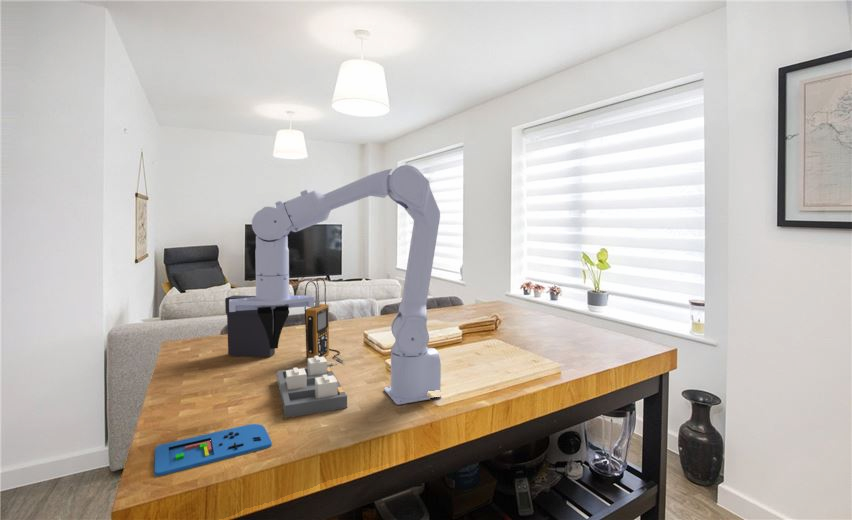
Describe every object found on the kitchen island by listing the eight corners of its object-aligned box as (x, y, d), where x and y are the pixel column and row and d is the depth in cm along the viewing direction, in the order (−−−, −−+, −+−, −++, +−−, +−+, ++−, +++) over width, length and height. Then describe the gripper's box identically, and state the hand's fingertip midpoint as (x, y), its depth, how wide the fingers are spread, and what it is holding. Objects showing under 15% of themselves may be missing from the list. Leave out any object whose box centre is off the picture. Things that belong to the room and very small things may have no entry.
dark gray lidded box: (276, 353, 107) (275, 295, 106) (268, 358, 103) (267, 298, 102) (236, 351, 109) (234, 294, 107) (226, 356, 104) (224, 297, 103)
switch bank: (328, 374, 93) (328, 364, 93) (347, 407, 76) (347, 395, 76) (277, 381, 89) (277, 370, 89) (285, 418, 72) (284, 405, 72)
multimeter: (338, 371, 95) (337, 284, 93) (298, 368, 97) (296, 282, 95) (361, 352, 109) (360, 276, 108) (325, 349, 111) (324, 275, 109)
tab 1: (304, 385, 84) (304, 365, 83) (306, 391, 80) (306, 371, 80) (286, 387, 82) (285, 368, 82) (287, 394, 79) (287, 374, 79)
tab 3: (333, 392, 80) (333, 372, 80) (337, 400, 77) (337, 379, 77) (315, 395, 79) (314, 375, 78) (318, 403, 75) (318, 381, 75)
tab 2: (324, 372, 91) (324, 354, 91) (327, 377, 88) (327, 359, 88) (307, 374, 90) (307, 356, 89) (310, 380, 87) (310, 361, 86)
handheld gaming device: (272, 441, 63) (154, 472, 55) (272, 448, 63) (154, 480, 55) (261, 419, 70) (155, 443, 62) (262, 425, 70) (155, 451, 62)
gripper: (310, 270, 83) (310, 337, 84) (229, 272, 77) (230, 345, 78) (315, 275, 76) (316, 347, 77) (228, 277, 70) (229, 356, 71)
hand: (273, 347), depth 77 cm, fingers closed
